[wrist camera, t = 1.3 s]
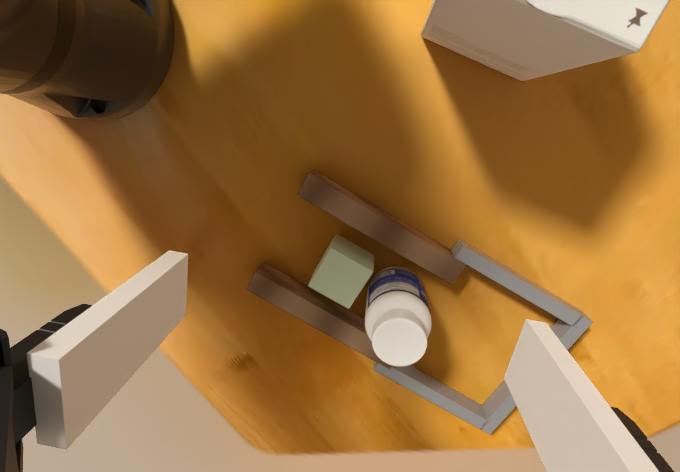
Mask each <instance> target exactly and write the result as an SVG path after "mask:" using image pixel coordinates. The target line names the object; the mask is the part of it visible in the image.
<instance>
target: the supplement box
mask: <svg viewBox="0 0 680 472" xmlns="http://www.w3.org/2000/svg"><path fill="white" fill-rule="evenodd" d="M669 1H670V0H434V1H433V4H432V7H431V9H430V12H429V14H428V17H427V19H426V21H425V24H424V26H423V29H422V31H421V36H422V37H423V38H425V39H428V40H430V41H432V42H434V43H437V44H439V45H441V46H443V47H445V48H448V49H450V50H452V51H454V52H457V53H459V54H461V55H463V56H466V57H468V58H470V59H472V60H475V61H477V62H479V63H481V64H484V65H486V66H488V67H490V68H493V69H495V70H497V71H500V72H502V73H504V74H506V75H509V76H511V77H513V78H515V79H518V80H520V81H526V80H530V79H534V78H538V77H542V76H546V75H550V74H554V73H558V72H561V71H565V70H569V69H573V68H577V67H581V66H585V65H589V64H593V63H597V62H601V61H605V60H608V59H612V58H617V57H621V56H625V55H628V54H632V53H637V52H639V51H640V50H641V48H642V46H643V45H644V43H645V41H646V40H647V38H648V36H649V35H650V33H651V31H652V30H653V28H654V26H655V25H656V23H657V21H658V20H659V18H660V16H661V15H662V13H663V11H664V9H665V8H666V6H667V4H668V3H669Z"/></svg>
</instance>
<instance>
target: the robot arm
mask: <svg viewBox="0 0 680 472" xmlns="http://www.w3.org/2000/svg"><path fill="white" fill-rule="evenodd" d="M173 40H174V28H173V18H172V12H171V7H170V3H169V0H0V93H1V94H7V95H10V96H12V97H15V98H17V99H20V100H22V101H24V102H27V103H29V104H32V105H34V106H37V107H39V108H42V109H44V110H46V111H49V112H51V113H54V114H57V115H60V116H64V117H68V118H73V119H81V120H99V119H113V118H118V117H121V116H125V115H127V114H129V113H132V112H134V111H135V110H137V109H139V108H140V107H142V106H143V105H144V104H145V103H146V102H147V101H149V100H150V99H151V97H152V96H153V95H154V94H155V93H156V91H157V90H158V89H159V87H160V85H161V84H162V82H163V80H164V78H165V76H166V73H167V71H168V68H169V65H170V61H171V57H172V51H173ZM187 276H188V254H187V253H181V252H176V251H171V250H169V251H167V252H166V253H165V254H163V255H162V256H160V257H159V258H158V259H156V260H155V261H154V262H152V263H151V264H149V265H148V266H147V267H145V268H144V269H142V270H141V271H140V272H138V273H137V274H136V275H134V276H133V277H131V278H130V279H129V280H127V281H126V282H124V283H123V284H122V285H120V286H119V287H118V288H116V289H115V290H113V291H112V292H111V293H109V294H108V295H106V296H105V297H104V298H103V299H101V300H100V301H98V302H97V303H96V304H94V305H88V304H82V305H79V306H77V307H74V308H71V309H69V310H66V311H64V312H63V313H61V314H60V315H58V316H57V317H56V318H54V319H52V320H51V322H48V323H47V324H46V325H44V326H42V327H41V328H40V329H39V330H36V331H35V332H33V333H32V334H30V335H29V336H27V337H26V338H24V339H23V340H22V341H20V342H18V343H17V344H16V345H14V346H13V347H11V348H10V345H9V338H8V335H7V333H6V331H4V330H2V329H0V472H23V443H22V438H23V437H24V436H25V435H26V434H27V433H28V432H29V431H30V430H31V429H32V428H33V427H34V426H35V428H36V437H37V443H38V444H42V445H47V446H52V447H56V448H61V449H67V448H68V447H69V446H70V445H71V444H72V443H73V442H74V441H75V439H76V438H77V437H78V436H79V435H80V434H81V433H82V432H83V430H84V429H85V428H86V427H87V426H88V425H89V424H90V423H91V421H92V420H93V419H94V418H95V417H96V416H97V415H98V414H99V412H100V411H101V410H102V409H103V408H104V407H105V406H106V404H107V403H108V402H109V401H110V400H111V399H112V398H113V397H114V395H115V394H116V393H117V392H118V391H119V390H120V389H121V388H122V386H123V385H124V384H125V383H126V382H127V381H128V380H129V378H131V376H132V375H133V374H134V373H135V372H136V371H137V370H138V368H139V367H140V366H141V365H142V364H143V363H144V362H145V361H146V360H147V358H148V357H149V356H150V355H151V354H152V353H153V352H154V351H155V349H156V348H157V347H158V346H159V345H160V344H161V343H162V342H163V340H164V339H165V338H166V337H167V336H168V335H169V334H170V333H171V331H172V330H173V329H174V328H175V327H176V326H177V325H178V323H179V322H180V321H181V320H182V319H183V318H184V317H185V316H186V299H187ZM504 379H505V381H506V384H507V386H508V388H509V390H510V392H511V395H512V397H513V399H514V401H515V403H516V406H517V408H518V410H519V412H520V414H521V417H522V419H523V421H524V423H525V425H526V427H527V430H528V432H529V434H530V436H531V438H532V441H533V443H534V445H535V447H536V449H537V452H538V453H539V456H540V458H541V460H542V463H543V465H544V467H545V469H546V471H547V472H674V471H673V470H672V469H671V467H670V466H669V465H668V463H667V462H666V461H665V460H664V458H663V457H662V456H661V455H660V454H659V453H657V450H656V449H655V447H654V446H653V445H652V443H651V442H650V441H648V440H647V437H646V436H645V435H644V433H643V432H642V431H641V430H640V428H639V427H638V426H637V425H636V423H635V422H634V421H632V420H631V419H630V418H629V417H628V416H626V415H625V414H624V413H623V412H622V411H620V410H619V409H618V408H614V407H610V406H609V405H608V403H607V402H606V401H605V399H604V398H603V397H602V396H601V394H600V393H599V392H598V390H597V389H596V388H595V386H594V385H593V384H592V382H591V381H590V380H589V378H588V377H587V376H586V374H585V373H584V372H583V370H582V369H581V368H580V367H579V365H578V364H577V363H576V361H575V360H574V359H573V357H572V356H571V355H570V353H569V352H568V351H567V349H566V348H565V347H564V345H563V344H562V343H561V341H560V340H559V339H558V338H557V336H556V335H555V334H554V332H553V331H552V330H551V328H550V327H549V326H548V324H547V323H545V322H539V321H534V320H529V319H526V321H525V323H524V326H523V329H522V331H521V334H520V337H519V339H518V342H517V345H516V347H515V350H514V353H513V355H512V358H511V361H510V363H509V366H508V368H507V371H506V374H505V376H504Z"/></svg>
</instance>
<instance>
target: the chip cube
mask: <svg viewBox="0 0 680 472" xmlns="http://www.w3.org/2000/svg"><path fill="white" fill-rule="evenodd" d="M373 269H374V255H373V254H371V253H369V252H368V251H366V250H364V249H362V248H361V247H359V246H357V245H356V244H354V243H352V242H350V241H349V240H347V239H345V238H343V237H342V236H340V235H338V234H336V235H335V236H334V238H333V240H332V241H331V243H330V245H329V246H328V248H327V250H326V251H325V253H324V255H323V257H322V258H321V260H320V262H319V263H318V265H317V267H316V268H315V271H314V273H313V275H312V278H311V280H310V282H309V285H308V286H309V287H311V288H312V289H314V290H316V291H318V292H319V293H321V294H323V295H325V296H327V297H328V298H330V299H332V300H334V301H336V302H337V303H339V304H341V305H343V306H344V307H346V308H348V309H349V308H350V307H351V305H352V304H353V302H354V301H355V299H356V298H357V296H358V295H359V293H360V291H361V290H362V288H363V287H364V285H365V284H366V282H367V281H368V279H369V278H370V276H371V275H372V273H373Z"/></svg>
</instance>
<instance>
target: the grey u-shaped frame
mask: <svg viewBox="0 0 680 472" xmlns="http://www.w3.org/2000/svg"><path fill="white" fill-rule="evenodd" d="M451 251H452V253H453V255H454V257H455V258H456V259H458V260H459V261H461V262H463V263H465V264H466V265H468V266H470V267H471V268H473V269H475V270H477V271H478V272H480V273H482V274H483V275H485V276H487V277H489V278H490V279H492V280H494V281H496V282H497V283H499V284H501V285H502V286H504V287H506V288H508V289H509V290H511V291H513V292H514V293H516V294H518V295H520V296H521V297H523V298H525V299H526V300H528V301H530V302H532V303H533V304H535V305H537V306H538V307H540V308H542V309H544V310H545V311H547V312H549V313H551V314H552V315H554V316H556V317H557V318H559V319H558V320H557V321H556V322H555V323H554V324H553V325H552V326H551V330H552V331H553V332H554V334H555V335H556V336H557V338H558V339H559V340H560V341H561V343H562V344H563V345H564V347H565V348H566V349H567V350H568V349H569V348H570V347H571V346H572V345H573V344H574V343H575V341H576V340H577V339H578V338H579V337H580V336H581V335H582V334H583V333H584V332H585V331H586V329H587V328H588V327H589V326H590V325H591V324H592V323H593V322H592V321H591V320H590V319H589V318H588V317H587V316H586V315H585V314H584V313H583V312H582V311H581V310H579V309H578V308H576V307H574V306H573V305H571V304H569V303H567V302H566V301H564V300H562V299H561V298H559V297H557V296H555V295H554V294H552V293H550V292H549V291H547V290H545V289H544V288H542V287H540V286H538V285H537V284H535V283H533V282H532V281H530V280H528V279H526V278H525V277H523V276H521V275H520V274H518V273H516V272H514V271H513V270H511V269H509V268H508V267H506V266H504V265H503V264H501V263H499V262H497V261H496V260H494V259H492V258H491V257H489V256H487V255H485V254H484V253H482V252H480V251H479V250H477V249H475V248H473V247H472V246H470V245H468V244H467V243H465V242H463V241H462V240H460V239H459V240H458V241H457V242H456V244H455V245H454V247H453V248H452V249H451ZM374 370H375V371H376V372H378V373H380V374H382V375H384V376H385V377H387V378H389V379H391V380H393V381H394V382H396V383H398V384H400V385H402V386H403V387H405V388H407V389H409V390H411V391H413V392H414V393H416V394H418V395H420V396H422V397H423V398H425V399H427V400H429V401H431V402H432V403H434V404H436V405H438V406H440V407H441V408H443V409H445V410H447V411H449V412H450V413H452V414H454V415H456V416H458V417H459V418H461V419H463V420H465V421H467V422H469V423H470V424H472V425H474V426H476V427H478V428H479V429H481V430H483V431H485V432H487V433H488V434H491V433H492V432H493V431H494V430H495V429H496V428H497V427H498V425H499V424H500V423H501V422H502V421H503V420H504V419H505V418H506V417H507V416H508V415H509V413H510V412H511V411H512V410H513V409H514V408H515V407H516V403H515V401H514V399H513V397H512V395H511V392H510V390H509V388H508V386H507V384H506V381H505V380H504V381H503V382H502V383H501V385H500V386H499V387H498V388H497V389H496V390H495V391H494V393H493V394H492V395H491V396H490V397H489V398H488V399H487V401H486V402H485V403H484V404H483V405H481V404H479V403H477V402H475V401H473V400H472V399H470V398H468V397H466V396H464V395H463V394H461V393H459V392H457V391H455V390H454V389H452V388H450V387H448V386H446V385H445V384H443V383H441V382H439V381H438V380H436V379H434V378H432V377H430V376H429V375H427V374H425V373H423V372H421V371H420V370H418V369H416V368H414V367H412V366H411V365H408V366H393V365H392V367H391V368H390V369H388V368H386V367H385V366H383V365H381V364H379V363H377V362H376V361H374Z"/></svg>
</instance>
